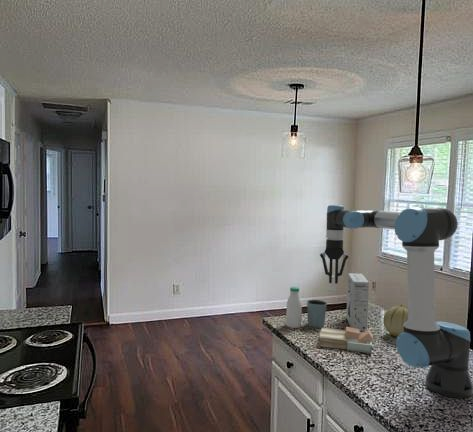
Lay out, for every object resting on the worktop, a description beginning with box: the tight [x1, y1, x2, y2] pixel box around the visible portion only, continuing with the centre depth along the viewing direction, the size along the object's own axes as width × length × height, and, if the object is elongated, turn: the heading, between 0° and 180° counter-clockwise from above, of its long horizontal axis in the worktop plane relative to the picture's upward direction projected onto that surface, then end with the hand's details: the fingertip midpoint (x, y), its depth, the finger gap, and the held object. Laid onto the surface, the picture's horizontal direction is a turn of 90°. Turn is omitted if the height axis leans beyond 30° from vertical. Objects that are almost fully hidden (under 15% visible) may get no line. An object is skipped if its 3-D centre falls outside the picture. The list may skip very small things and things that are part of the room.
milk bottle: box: [285, 286, 303, 329], centre depth 214 cm, size 8×8×20 cm
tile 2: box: [358, 328, 374, 344], centre depth 189 cm, size 6×6×3 cm
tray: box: [346, 331, 373, 354], centre depth 189 cm, size 16×10×4 cm, turn 164°
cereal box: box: [345, 272, 370, 332], centre depth 219 cm, size 22×8×25 cm, turn 172°
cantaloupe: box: [382, 304, 408, 338], centre depth 202 cm, size 15×15×15 cm
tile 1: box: [345, 326, 361, 340], centre depth 190 cm, size 6×6×3 cm
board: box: [318, 327, 348, 350], centre depth 192 cm, size 14×12×4 cm
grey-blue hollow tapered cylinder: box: [306, 299, 328, 328], centre depth 217 cm, size 10×10×12 cm
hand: (333, 290), depth 191 cm, fingers closed
